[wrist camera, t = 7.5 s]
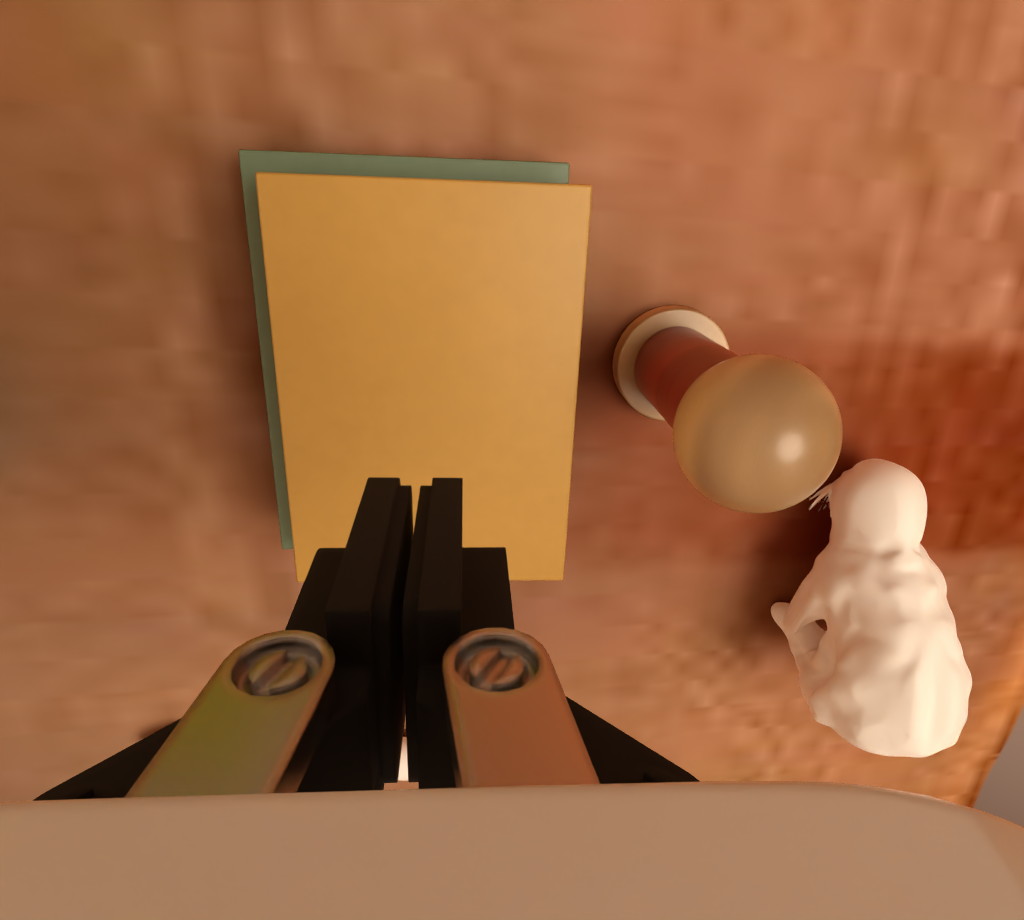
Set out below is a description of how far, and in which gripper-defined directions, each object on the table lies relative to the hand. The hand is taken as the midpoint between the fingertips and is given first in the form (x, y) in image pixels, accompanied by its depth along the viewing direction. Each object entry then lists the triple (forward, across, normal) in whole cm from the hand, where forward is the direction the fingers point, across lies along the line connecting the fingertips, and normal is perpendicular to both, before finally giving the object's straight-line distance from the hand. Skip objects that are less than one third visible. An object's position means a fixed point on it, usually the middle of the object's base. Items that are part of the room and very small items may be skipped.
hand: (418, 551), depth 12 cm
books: (+17, +1, +1) cm, 17 cm away
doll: (+17, -7, +1) cm, 18 cm away
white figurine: (+17, -19, +10) cm, 28 cm away
